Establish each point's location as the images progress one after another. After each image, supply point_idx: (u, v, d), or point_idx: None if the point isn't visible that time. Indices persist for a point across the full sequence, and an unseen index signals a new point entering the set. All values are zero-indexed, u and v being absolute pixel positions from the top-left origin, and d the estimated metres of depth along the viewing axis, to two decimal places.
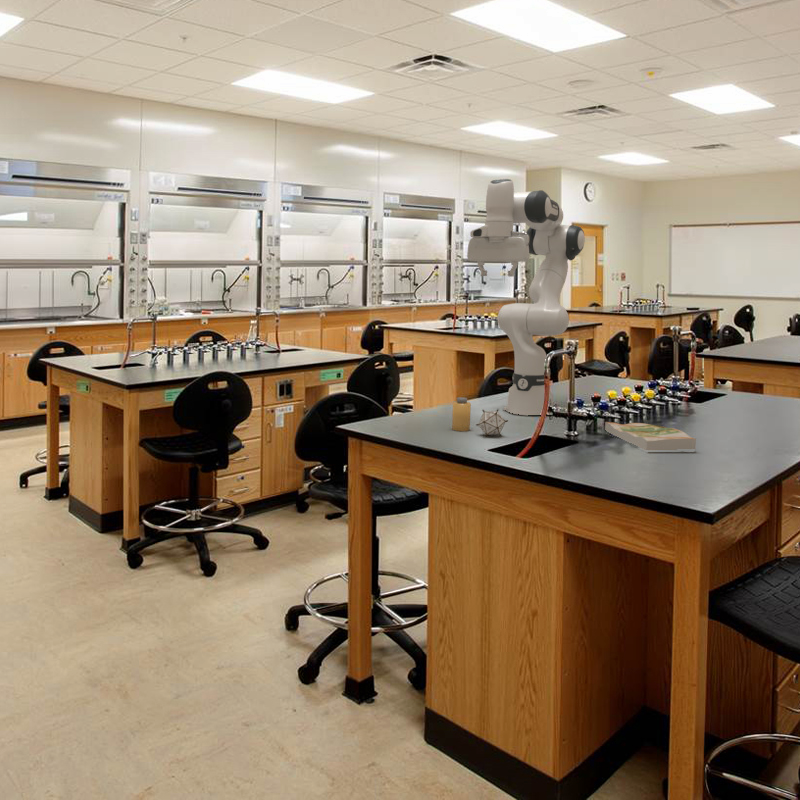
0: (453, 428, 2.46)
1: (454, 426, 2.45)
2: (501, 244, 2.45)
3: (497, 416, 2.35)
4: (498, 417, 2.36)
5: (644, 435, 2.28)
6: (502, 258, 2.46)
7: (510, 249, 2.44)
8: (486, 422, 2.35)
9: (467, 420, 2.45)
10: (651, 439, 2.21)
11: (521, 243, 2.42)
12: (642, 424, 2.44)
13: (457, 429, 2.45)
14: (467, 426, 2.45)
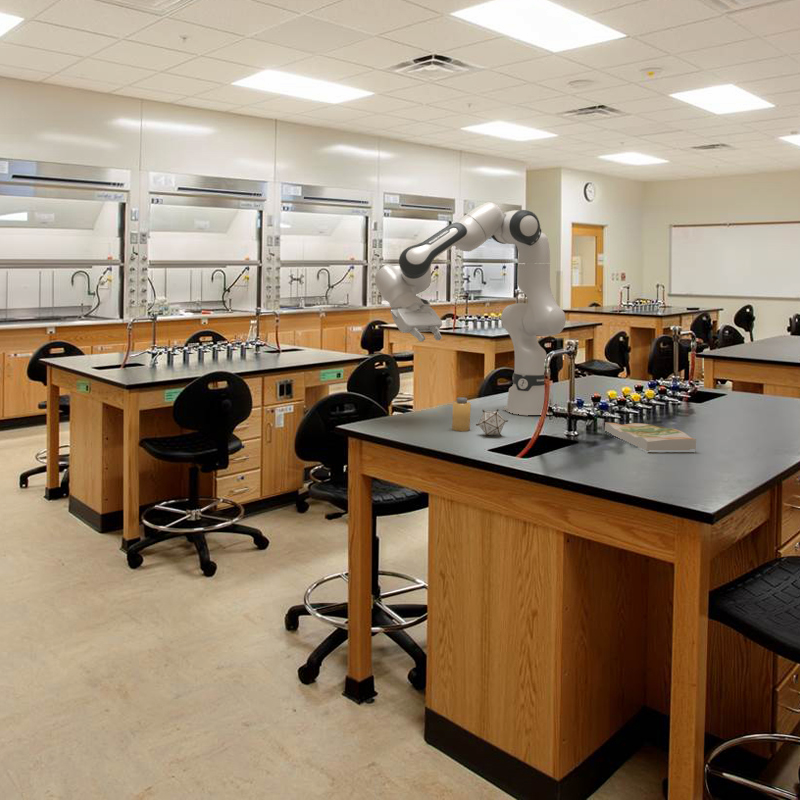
0: (453, 428, 2.46)
1: (454, 426, 2.45)
2: None
3: (497, 416, 2.35)
4: (498, 417, 2.36)
5: (644, 435, 2.28)
6: None
7: None
8: (486, 422, 2.35)
9: (467, 420, 2.45)
10: (651, 439, 2.20)
11: None
12: (642, 424, 2.43)
13: (457, 429, 2.45)
14: (467, 426, 2.45)
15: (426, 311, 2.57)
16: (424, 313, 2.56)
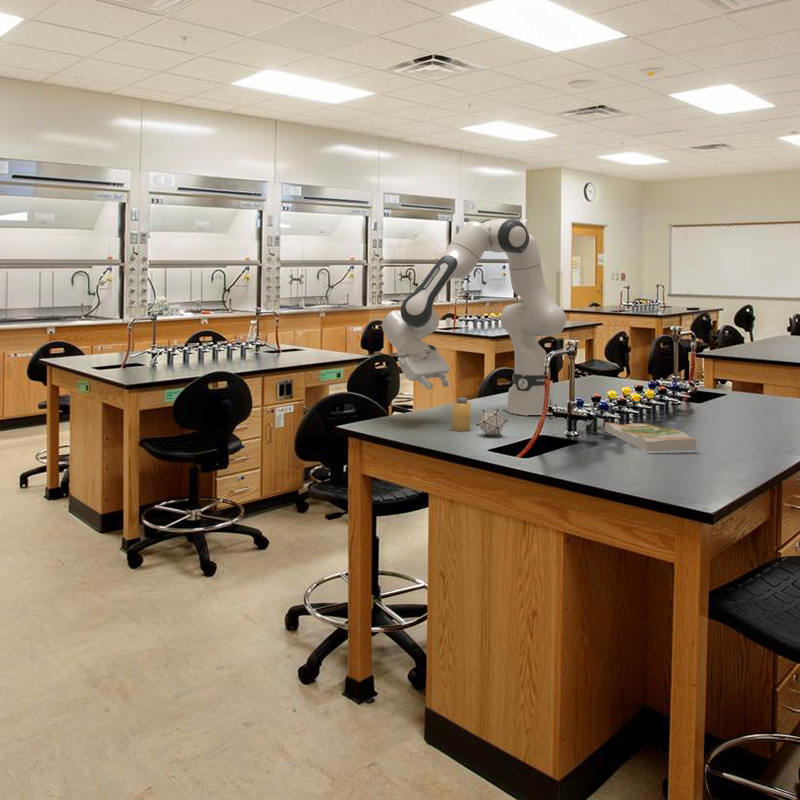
0: (453, 428, 2.46)
1: (454, 426, 2.45)
2: None
3: (497, 416, 2.35)
4: (498, 417, 2.36)
5: (644, 436, 2.27)
6: None
7: None
8: (486, 422, 2.35)
9: (467, 420, 2.45)
10: (651, 440, 2.20)
11: None
12: (642, 424, 2.43)
13: (457, 429, 2.45)
14: (467, 426, 2.45)
15: (434, 357, 2.57)
16: (431, 359, 2.56)
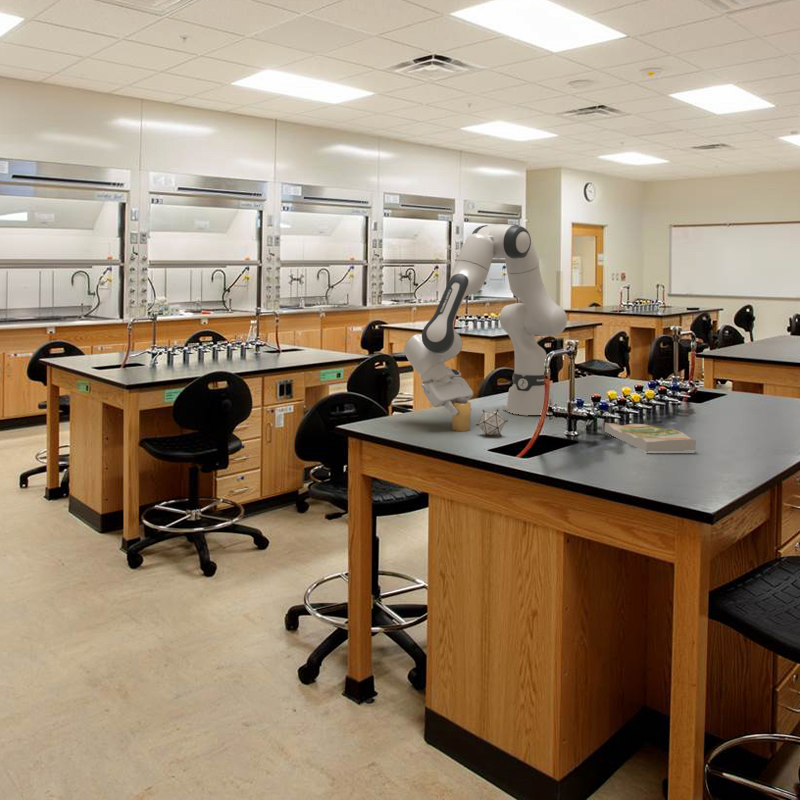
0: (453, 428, 2.46)
1: (454, 426, 2.45)
2: None
3: (497, 416, 2.35)
4: (498, 417, 2.36)
5: (644, 436, 2.27)
6: None
7: None
8: (486, 422, 2.35)
9: (467, 420, 2.45)
10: (651, 440, 2.19)
11: None
12: (642, 425, 2.42)
13: (457, 429, 2.45)
14: (467, 426, 2.45)
15: (457, 381, 2.53)
16: (455, 384, 2.52)
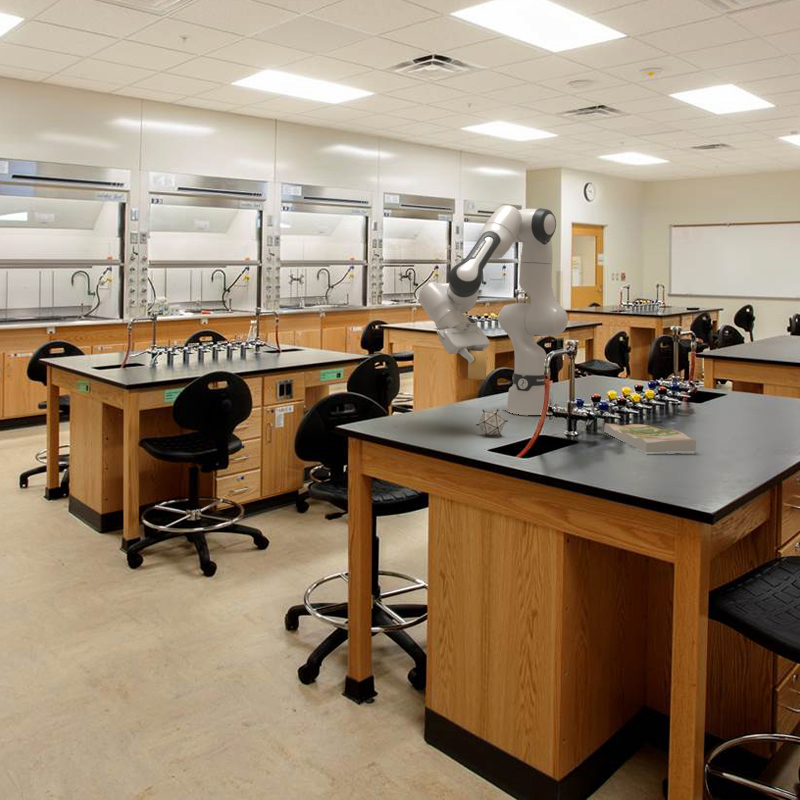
0: (469, 376, 2.39)
1: (470, 374, 2.39)
2: None
3: (497, 416, 2.35)
4: (498, 417, 2.36)
5: (644, 436, 2.26)
6: None
7: None
8: (486, 422, 2.35)
9: (483, 368, 2.38)
10: (651, 440, 2.18)
11: None
12: (642, 425, 2.42)
13: (473, 377, 2.38)
14: (483, 374, 2.38)
15: (473, 330, 2.46)
16: (471, 332, 2.45)
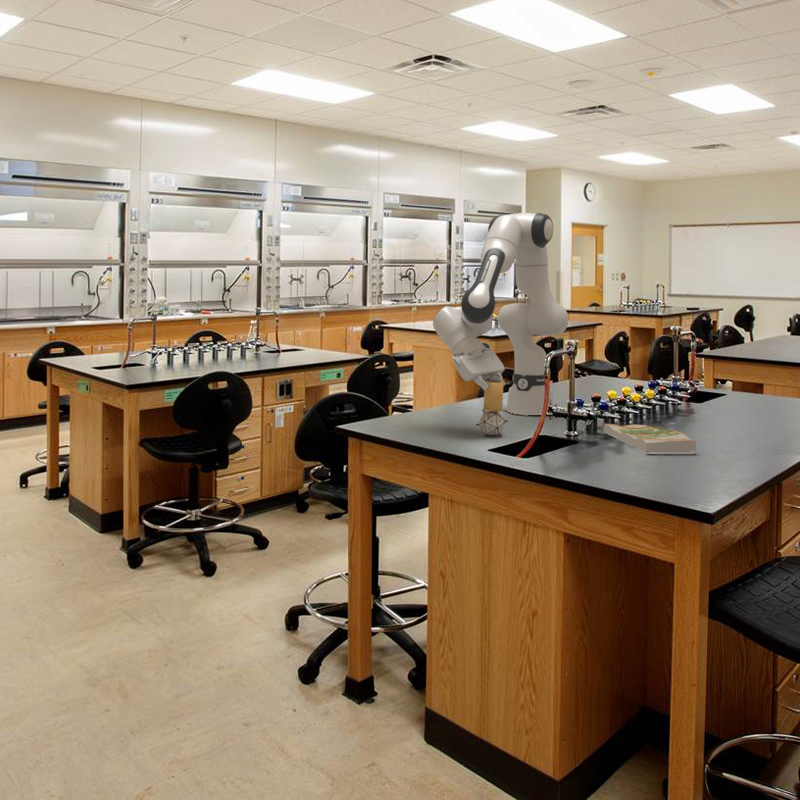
0: (485, 408, 2.36)
1: (486, 406, 2.36)
2: None
3: (497, 416, 2.35)
4: (498, 417, 2.36)
5: (643, 437, 2.25)
6: None
7: None
8: (486, 422, 2.35)
9: (500, 400, 2.35)
10: (651, 441, 2.18)
11: None
12: (641, 426, 2.41)
13: (489, 409, 2.35)
14: (500, 406, 2.35)
15: (488, 355, 2.43)
16: (486, 358, 2.41)
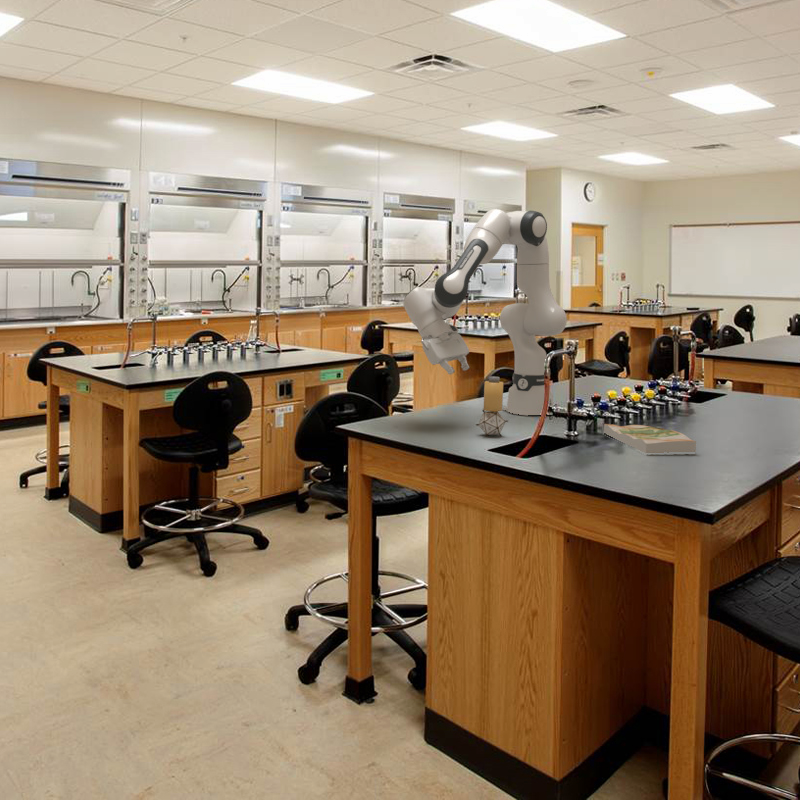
0: (485, 408, 2.36)
1: (486, 406, 2.36)
2: None
3: (497, 416, 2.35)
4: (498, 417, 2.36)
5: (643, 437, 2.25)
6: None
7: None
8: (486, 422, 2.35)
9: (500, 400, 2.35)
10: (651, 441, 2.17)
11: None
12: (641, 426, 2.40)
13: (489, 409, 2.35)
14: (499, 406, 2.35)
15: (455, 338, 2.50)
16: (452, 340, 2.49)
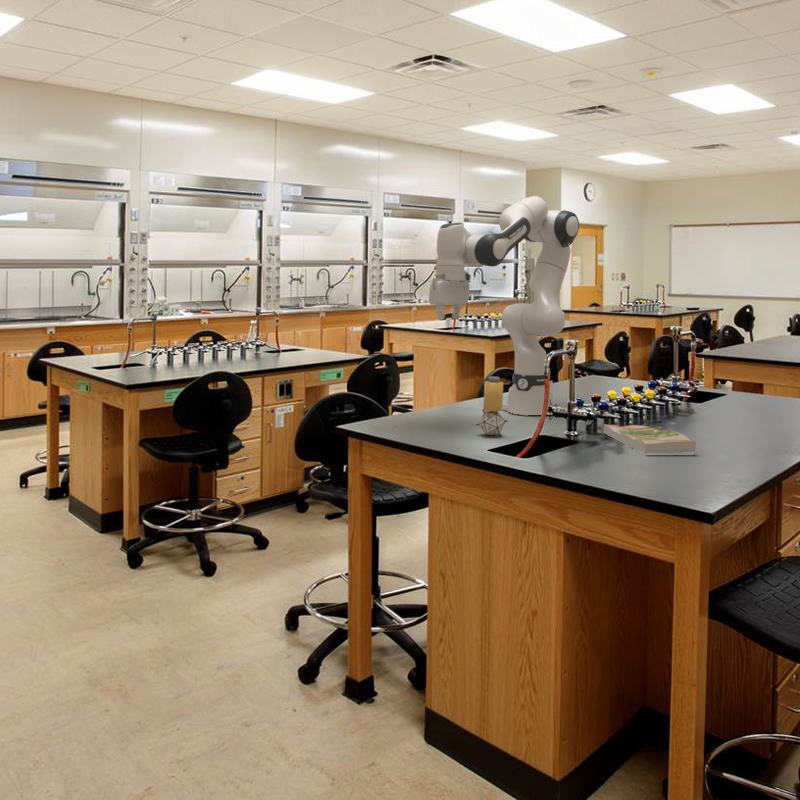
0: (485, 408, 2.36)
1: (486, 406, 2.36)
2: None
3: (497, 416, 2.35)
4: (498, 417, 2.36)
5: (643, 438, 2.24)
6: None
7: None
8: (486, 422, 2.35)
9: (500, 400, 2.35)
10: (650, 442, 2.17)
11: None
12: (641, 426, 2.40)
13: (489, 409, 2.35)
14: (499, 406, 2.35)
15: (463, 286, 2.52)
16: (459, 287, 2.51)
